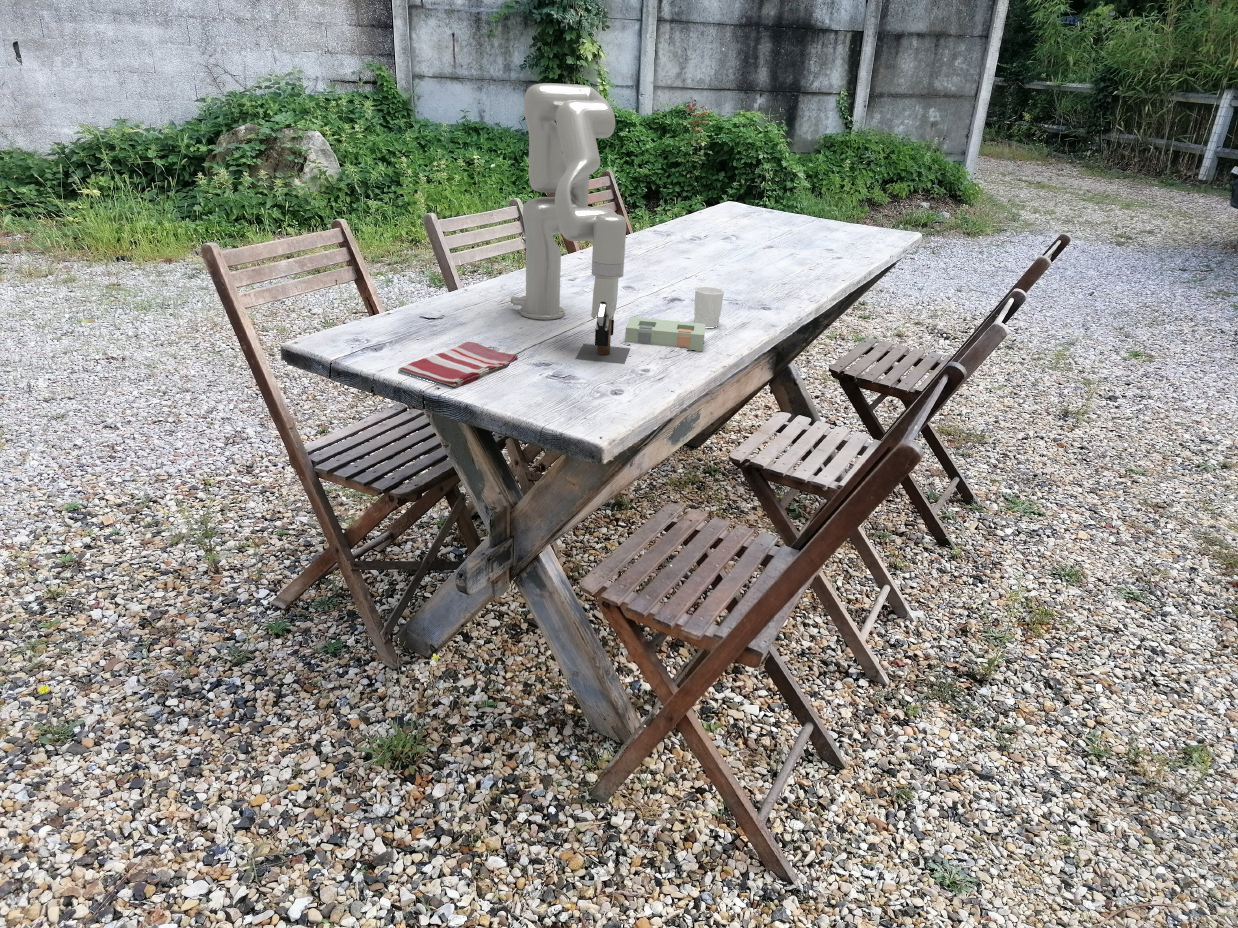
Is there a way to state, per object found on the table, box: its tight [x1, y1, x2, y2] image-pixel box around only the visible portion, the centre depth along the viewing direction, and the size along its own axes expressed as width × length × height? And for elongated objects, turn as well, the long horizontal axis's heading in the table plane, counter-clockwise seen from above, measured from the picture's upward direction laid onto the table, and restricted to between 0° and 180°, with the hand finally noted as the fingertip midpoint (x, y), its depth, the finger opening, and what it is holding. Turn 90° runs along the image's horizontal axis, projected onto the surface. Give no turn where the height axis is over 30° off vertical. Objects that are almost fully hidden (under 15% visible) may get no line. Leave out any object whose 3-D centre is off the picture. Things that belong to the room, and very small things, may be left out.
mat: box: [574, 343, 631, 365], centre depth 206 cm, size 12×12×1 cm
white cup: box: [693, 286, 725, 327], centre depth 233 cm, size 8×8×10 cm
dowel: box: [597, 316, 612, 356], centre depth 203 cm, size 3×3×10 cm
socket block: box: [624, 316, 706, 352], centre depth 218 cm, size 20×10×5 cm, turn 82°
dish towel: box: [397, 341, 519, 390], centre depth 193 cm, size 17×23×3 cm
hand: (604, 339), depth 204 cm, fingers open, 8 cm apart
